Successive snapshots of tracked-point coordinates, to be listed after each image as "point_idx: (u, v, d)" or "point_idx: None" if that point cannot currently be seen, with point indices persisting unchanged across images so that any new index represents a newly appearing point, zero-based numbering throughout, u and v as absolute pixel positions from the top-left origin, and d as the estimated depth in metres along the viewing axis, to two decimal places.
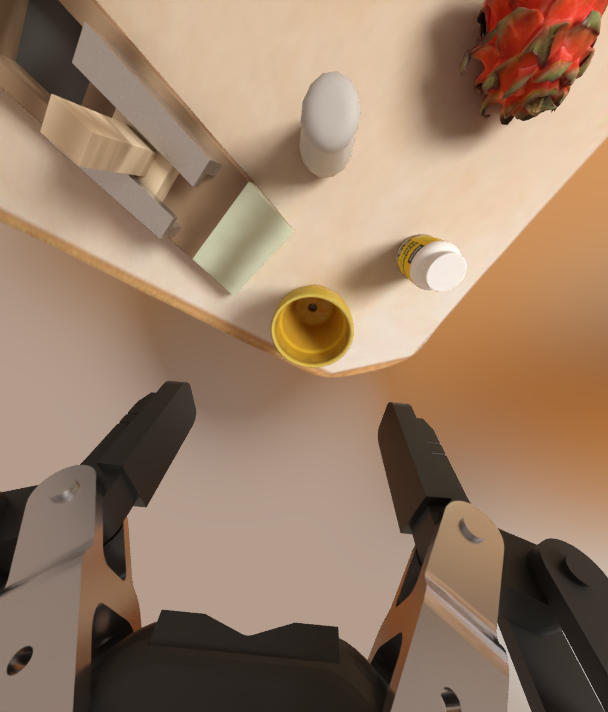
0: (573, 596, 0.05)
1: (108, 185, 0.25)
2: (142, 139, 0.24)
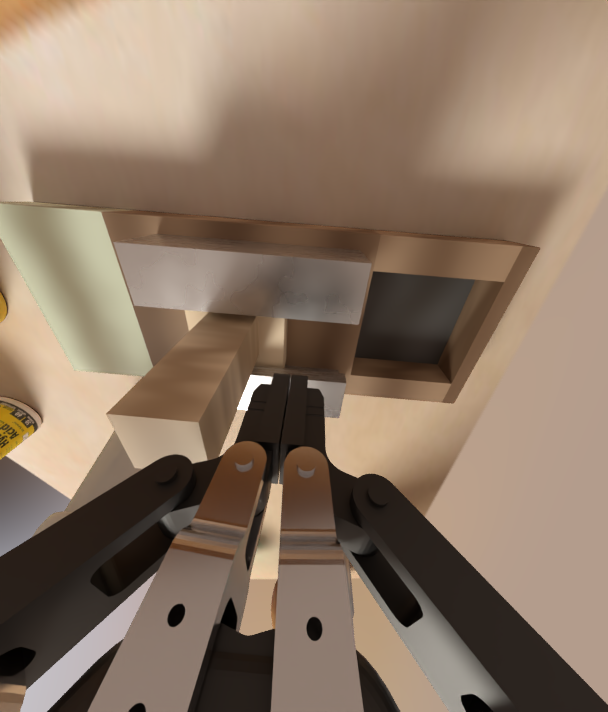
0: (379, 522, 0.05)
1: (249, 269, 0.11)
2: None
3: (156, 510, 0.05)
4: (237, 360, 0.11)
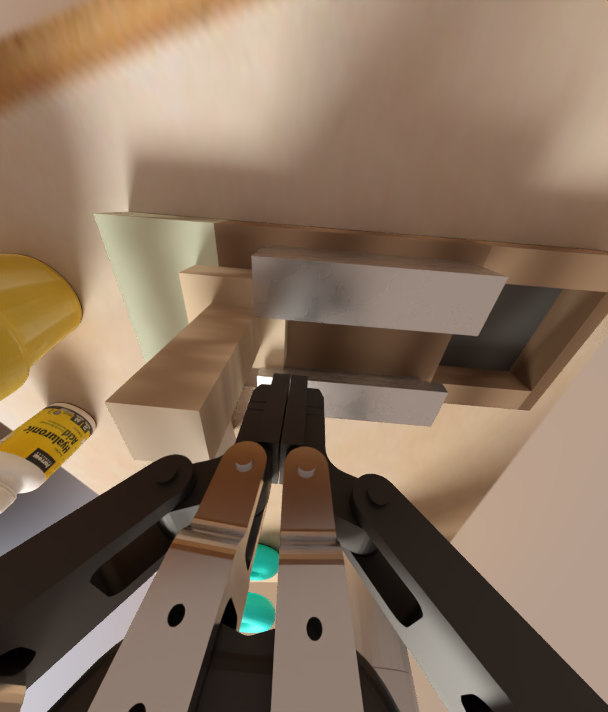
0: (379, 522, 0.05)
1: (382, 282, 0.12)
2: None
3: (156, 510, 0.05)
4: (238, 352, 0.11)
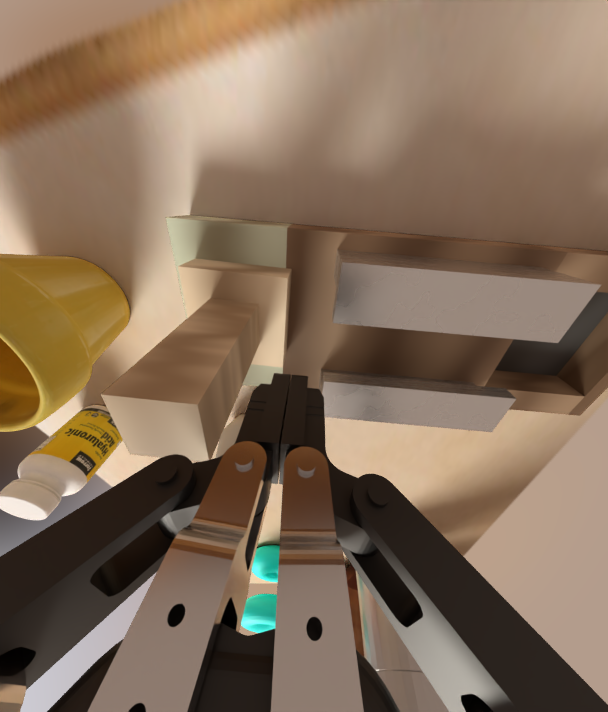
0: (379, 522, 0.05)
1: (471, 289, 0.11)
2: None
3: (156, 510, 0.05)
4: (237, 347, 0.10)
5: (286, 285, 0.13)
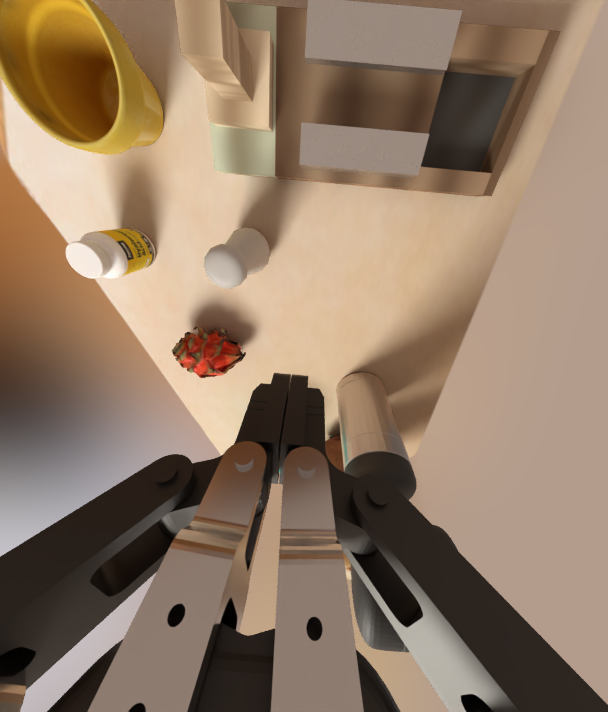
0: (379, 522, 0.05)
1: (386, 18, 0.19)
2: (235, 98, 0.22)
3: (156, 510, 0.05)
4: (238, 37, 0.18)
5: (269, 39, 0.21)
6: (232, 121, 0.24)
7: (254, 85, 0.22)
